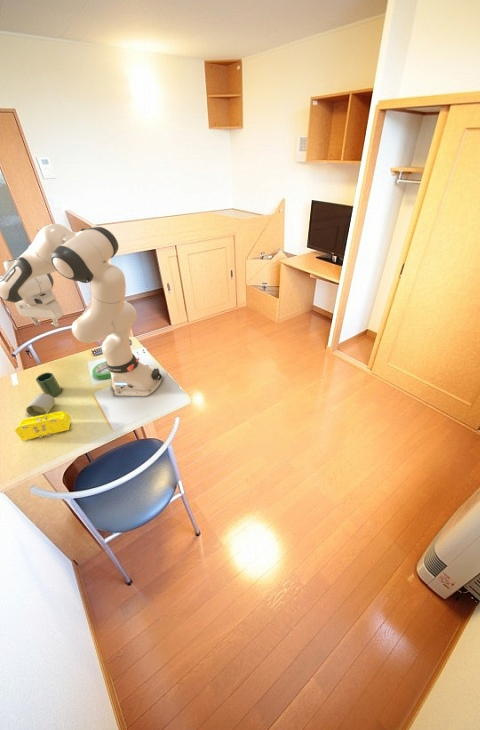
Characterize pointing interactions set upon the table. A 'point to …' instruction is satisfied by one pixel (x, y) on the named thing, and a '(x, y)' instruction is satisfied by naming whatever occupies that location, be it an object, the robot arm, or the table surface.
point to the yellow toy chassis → (43, 425)
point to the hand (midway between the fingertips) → (47, 325)
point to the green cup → (48, 384)
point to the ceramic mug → (40, 405)
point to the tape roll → (101, 375)
